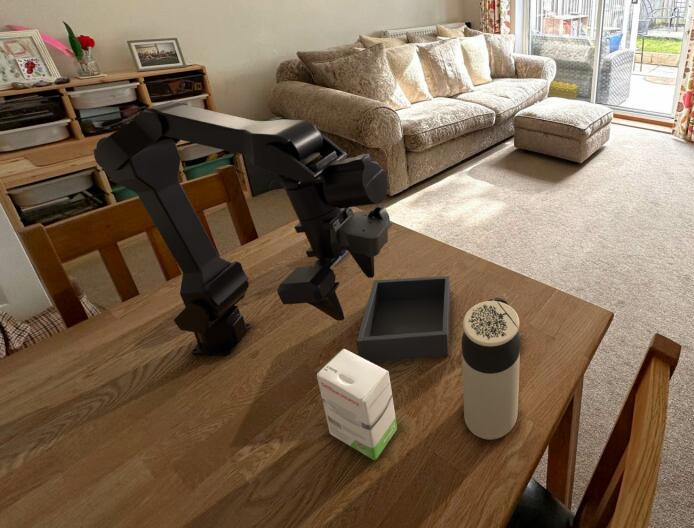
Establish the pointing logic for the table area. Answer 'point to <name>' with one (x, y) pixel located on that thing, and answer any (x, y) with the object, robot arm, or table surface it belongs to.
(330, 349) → the table surface
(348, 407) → the ink box
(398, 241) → the table surface
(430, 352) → the open storage tray
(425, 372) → the table surface
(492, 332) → the travel mug
